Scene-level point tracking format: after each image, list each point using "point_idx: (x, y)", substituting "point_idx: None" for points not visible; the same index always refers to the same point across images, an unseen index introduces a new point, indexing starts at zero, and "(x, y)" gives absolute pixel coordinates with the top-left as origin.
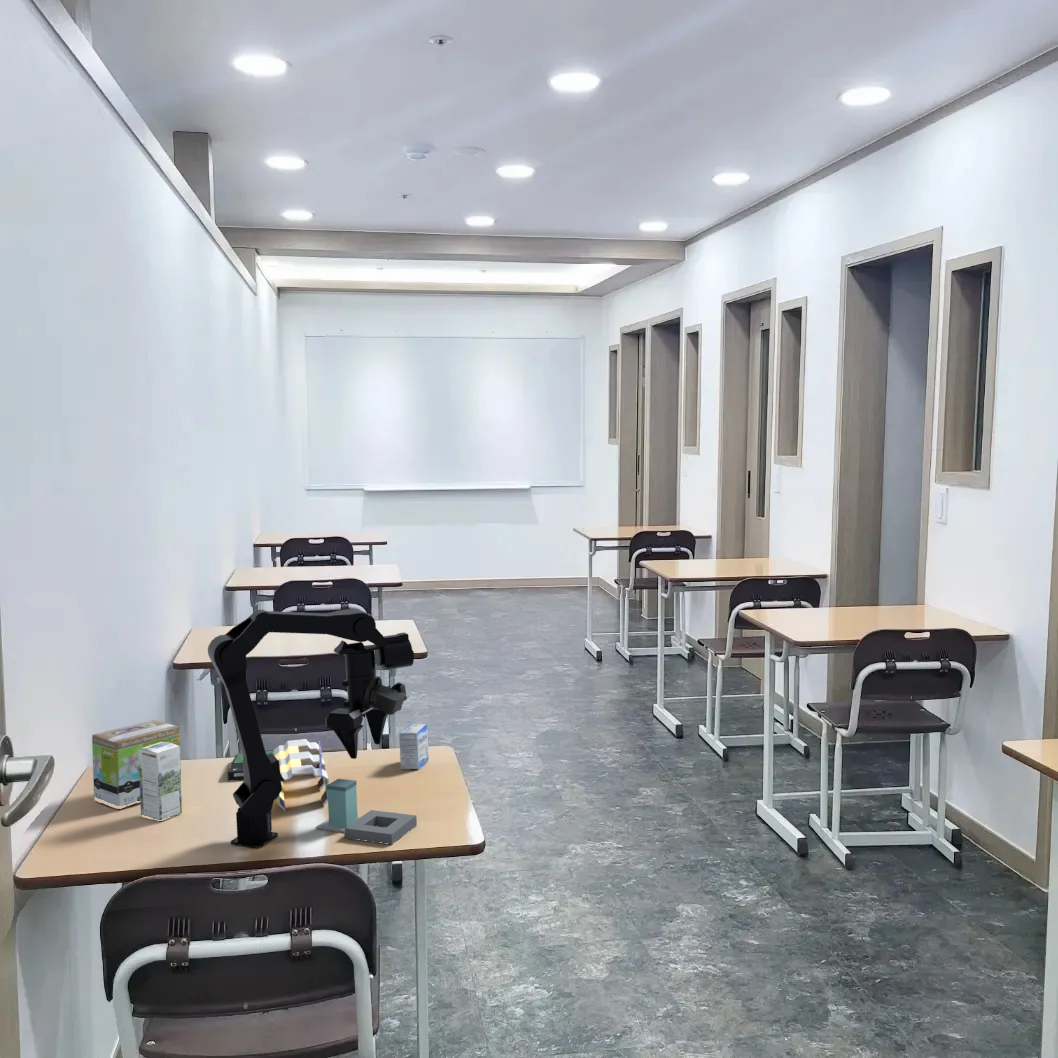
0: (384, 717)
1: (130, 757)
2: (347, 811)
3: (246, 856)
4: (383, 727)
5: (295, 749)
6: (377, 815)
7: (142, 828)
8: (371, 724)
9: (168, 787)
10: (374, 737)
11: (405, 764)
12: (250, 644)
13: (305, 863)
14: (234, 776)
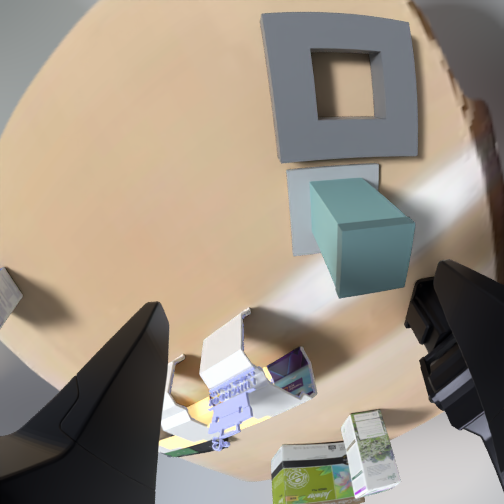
0: (52, 451)
1: (349, 486)
2: (371, 191)
3: (482, 265)
4: (85, 375)
5: (171, 442)
6: (313, 119)
7: (396, 406)
8: (146, 446)
9: (376, 443)
10: (163, 357)
11: (13, 293)
12: None
13: (499, 161)
14: (223, 439)
